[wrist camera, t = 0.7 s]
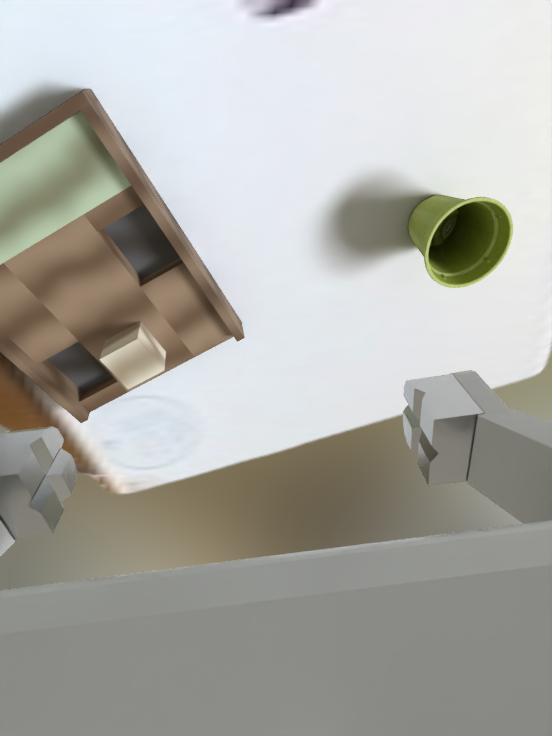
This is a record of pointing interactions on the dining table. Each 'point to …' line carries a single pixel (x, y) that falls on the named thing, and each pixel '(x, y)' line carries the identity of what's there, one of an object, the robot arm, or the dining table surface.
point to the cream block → (133, 355)
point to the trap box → (93, 259)
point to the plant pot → (461, 237)
